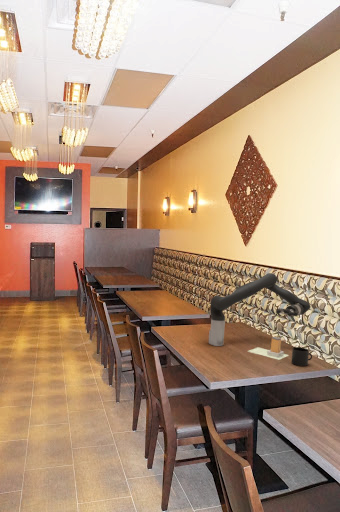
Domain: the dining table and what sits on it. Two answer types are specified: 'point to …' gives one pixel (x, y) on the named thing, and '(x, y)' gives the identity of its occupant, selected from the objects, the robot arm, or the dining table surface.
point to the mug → (300, 356)
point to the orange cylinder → (276, 344)
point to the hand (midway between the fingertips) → (282, 313)
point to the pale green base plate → (268, 353)
